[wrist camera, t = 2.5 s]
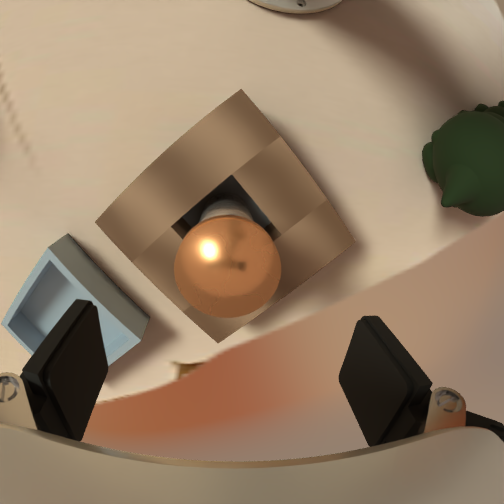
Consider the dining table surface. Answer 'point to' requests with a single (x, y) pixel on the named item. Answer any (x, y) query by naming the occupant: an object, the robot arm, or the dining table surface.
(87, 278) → the tray
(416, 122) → the dining table surface
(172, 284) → the square wooden block
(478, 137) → the toy figurine
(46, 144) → the dining table surface
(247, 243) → the copper capped shaker
